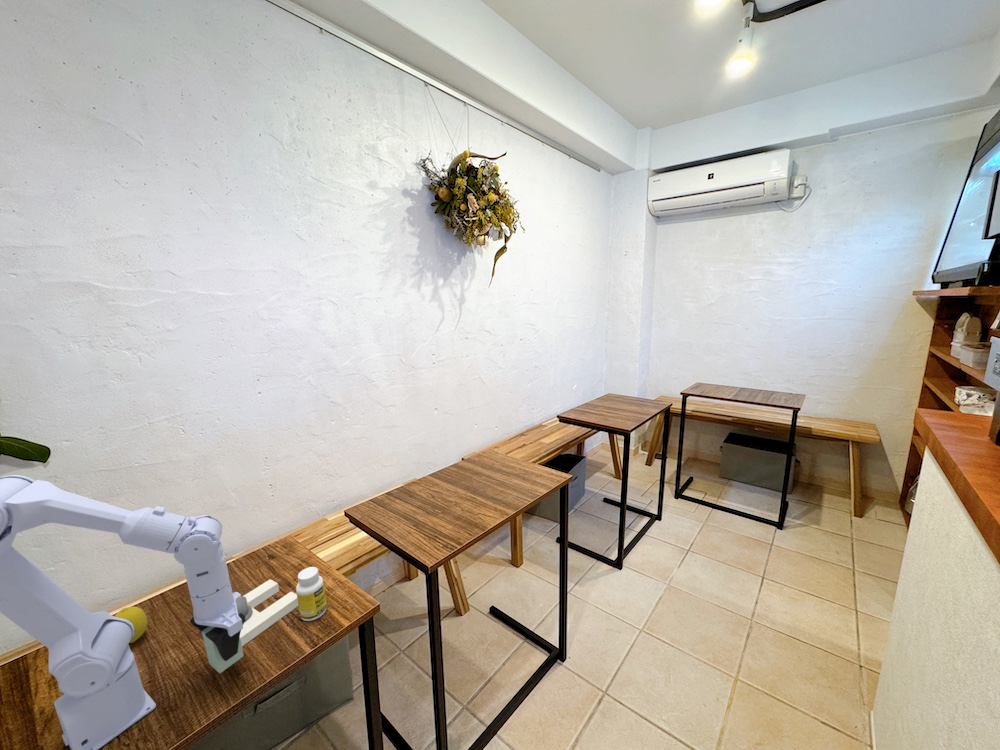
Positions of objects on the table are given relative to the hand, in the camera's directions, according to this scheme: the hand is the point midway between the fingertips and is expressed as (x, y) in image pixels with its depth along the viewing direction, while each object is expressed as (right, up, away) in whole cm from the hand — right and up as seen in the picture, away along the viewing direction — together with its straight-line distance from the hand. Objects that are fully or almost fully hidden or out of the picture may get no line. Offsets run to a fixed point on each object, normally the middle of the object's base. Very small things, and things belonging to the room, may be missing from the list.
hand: (224, 650), depth 72 cm
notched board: (-4, -2, +14) cm, 14 cm away
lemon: (-25, -5, +9) cm, 27 cm away
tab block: (0, -2, 0) cm, 2 cm away
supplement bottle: (+10, -2, +14) cm, 17 cm away
